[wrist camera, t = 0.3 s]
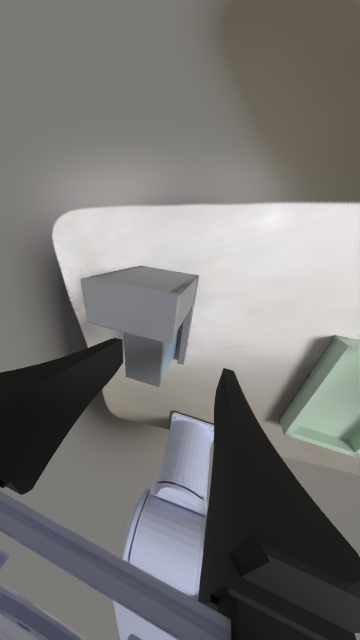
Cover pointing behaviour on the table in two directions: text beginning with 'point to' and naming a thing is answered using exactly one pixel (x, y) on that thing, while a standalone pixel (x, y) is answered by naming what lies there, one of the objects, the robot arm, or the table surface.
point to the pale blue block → (147, 358)
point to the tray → (329, 401)
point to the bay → (143, 303)
